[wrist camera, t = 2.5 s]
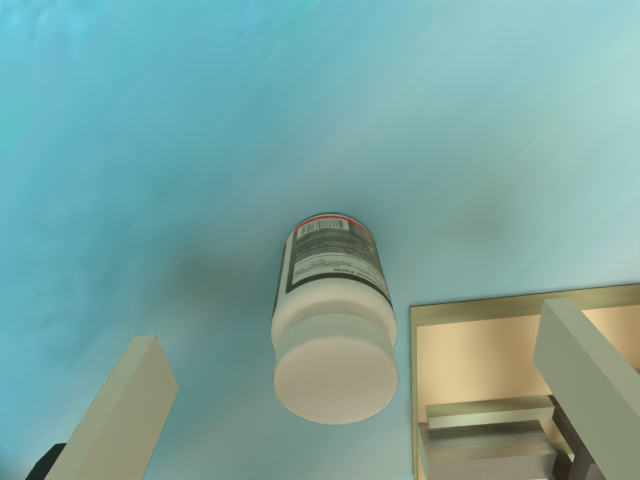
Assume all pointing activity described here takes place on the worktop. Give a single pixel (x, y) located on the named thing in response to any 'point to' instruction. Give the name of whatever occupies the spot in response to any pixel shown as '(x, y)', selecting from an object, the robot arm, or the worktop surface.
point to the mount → (508, 366)
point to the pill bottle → (333, 324)
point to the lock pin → (486, 451)
